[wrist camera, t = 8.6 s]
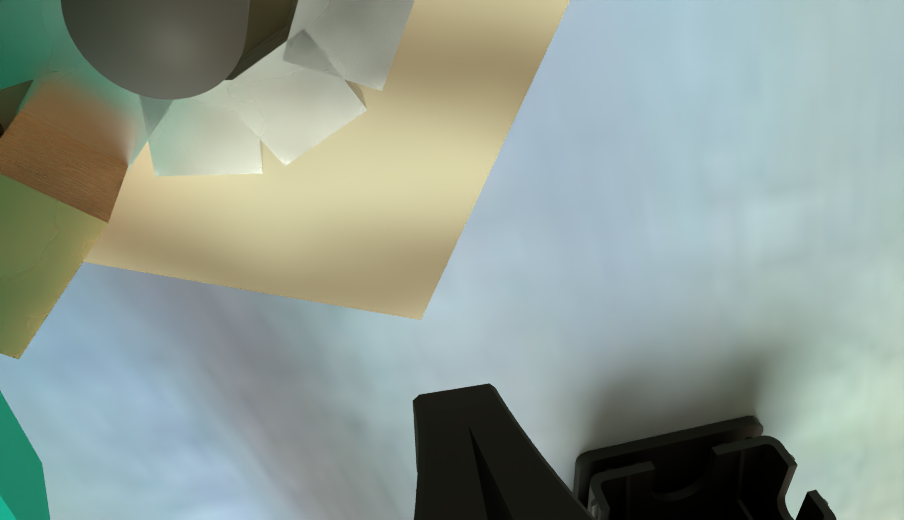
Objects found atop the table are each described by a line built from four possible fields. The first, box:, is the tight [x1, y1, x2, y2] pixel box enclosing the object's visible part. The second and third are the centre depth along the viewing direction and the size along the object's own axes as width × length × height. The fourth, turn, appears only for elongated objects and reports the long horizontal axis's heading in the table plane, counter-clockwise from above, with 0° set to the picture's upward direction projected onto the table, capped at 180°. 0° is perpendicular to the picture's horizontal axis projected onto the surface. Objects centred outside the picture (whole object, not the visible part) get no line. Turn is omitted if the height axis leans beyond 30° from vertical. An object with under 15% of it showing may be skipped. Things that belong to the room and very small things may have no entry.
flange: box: [0, 0, 415, 359], centre depth 14 cm, size 14×10×4 cm
